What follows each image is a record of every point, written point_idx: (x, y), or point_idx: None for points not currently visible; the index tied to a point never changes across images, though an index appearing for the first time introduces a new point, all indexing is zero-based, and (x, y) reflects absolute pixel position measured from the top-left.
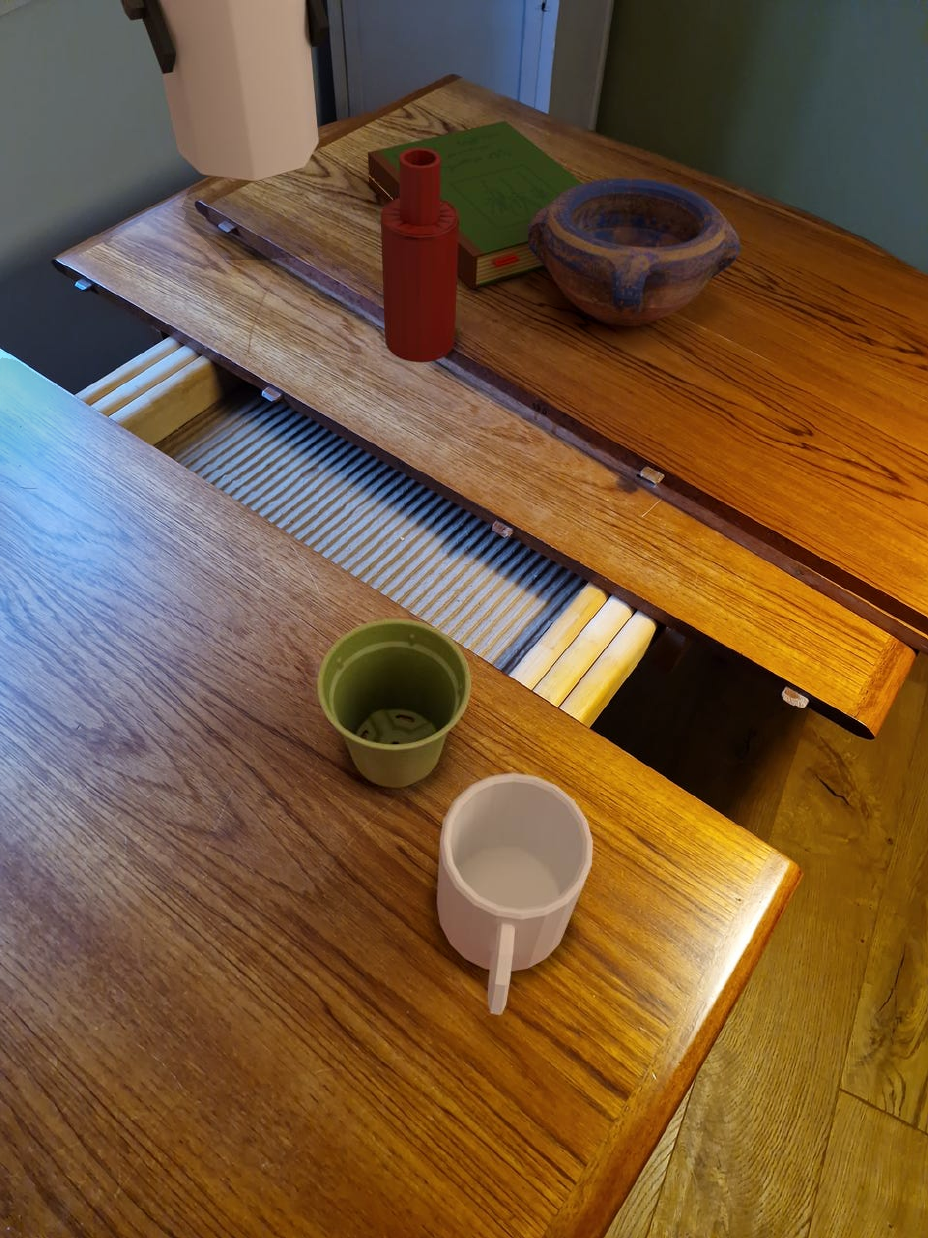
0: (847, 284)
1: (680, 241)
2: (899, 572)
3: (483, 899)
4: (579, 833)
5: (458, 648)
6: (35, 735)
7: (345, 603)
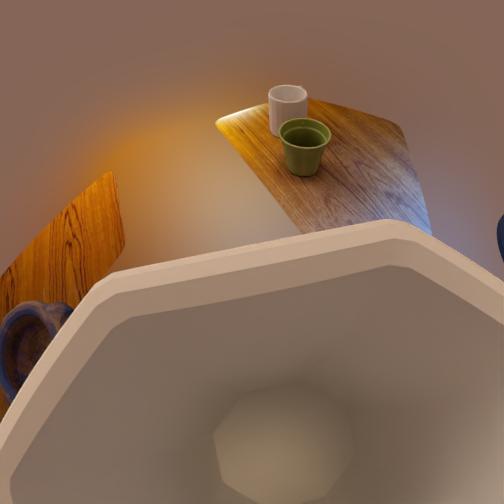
0: None
1: (17, 360)
2: (103, 179)
3: (301, 88)
4: (271, 92)
5: (279, 134)
6: (419, 209)
7: (303, 221)
